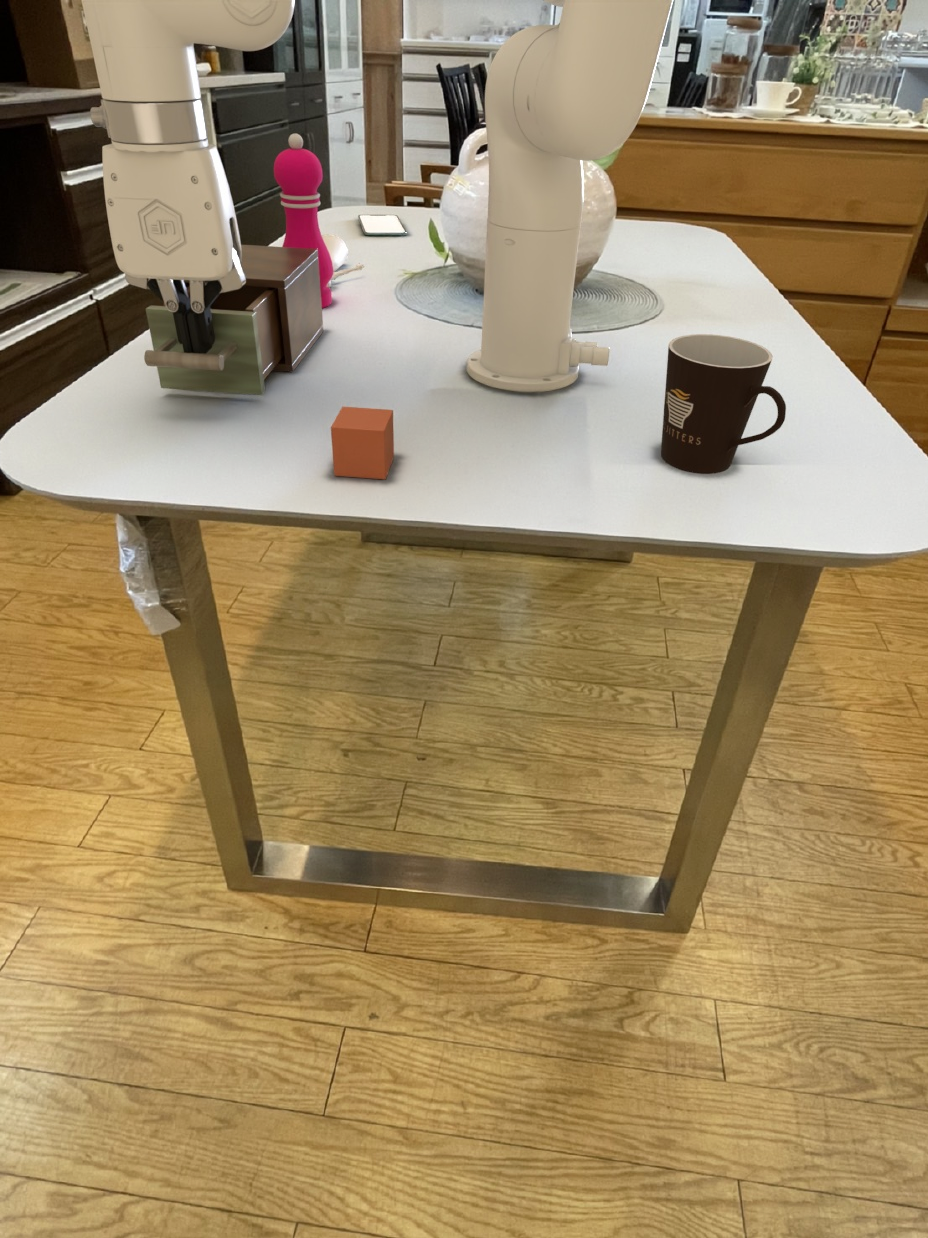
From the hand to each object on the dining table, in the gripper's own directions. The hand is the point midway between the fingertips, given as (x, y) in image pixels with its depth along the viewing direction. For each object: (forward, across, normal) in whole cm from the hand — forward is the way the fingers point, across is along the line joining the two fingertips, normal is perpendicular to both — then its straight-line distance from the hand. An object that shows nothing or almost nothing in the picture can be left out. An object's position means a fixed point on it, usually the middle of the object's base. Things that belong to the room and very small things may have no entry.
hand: (199, 351), depth 76 cm
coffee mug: (+7, +48, -5) cm, 48 cm away
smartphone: (+7, +2, +90) cm, 90 cm away
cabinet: (+6, 0, +19) cm, 20 cm away
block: (+6, +18, -10) cm, 21 cm away
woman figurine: (+6, 0, +53) cm, 53 cm away
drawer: (+5, 0, +6) cm, 8 cm away
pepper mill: (+6, 0, +38) cm, 39 cm away
